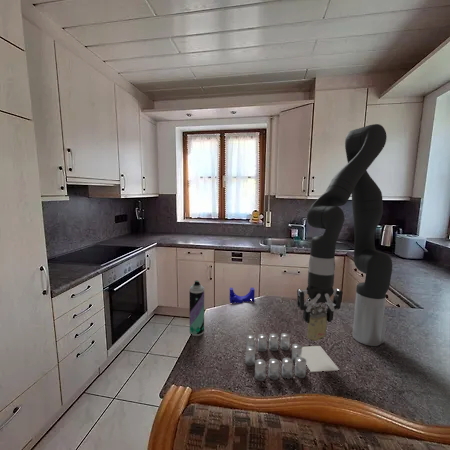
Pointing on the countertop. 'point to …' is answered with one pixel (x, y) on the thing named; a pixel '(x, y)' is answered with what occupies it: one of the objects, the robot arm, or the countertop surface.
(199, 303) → the spray can
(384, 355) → the countertop surface
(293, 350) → the spacers
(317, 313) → the cream metal oval canister
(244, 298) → the cable clip
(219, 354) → the countertop surface
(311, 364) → the tile
